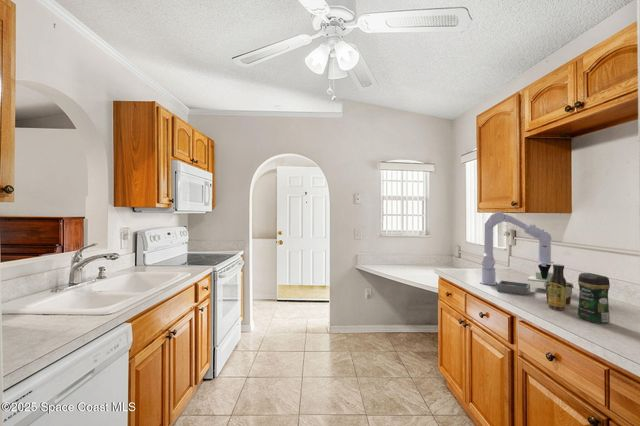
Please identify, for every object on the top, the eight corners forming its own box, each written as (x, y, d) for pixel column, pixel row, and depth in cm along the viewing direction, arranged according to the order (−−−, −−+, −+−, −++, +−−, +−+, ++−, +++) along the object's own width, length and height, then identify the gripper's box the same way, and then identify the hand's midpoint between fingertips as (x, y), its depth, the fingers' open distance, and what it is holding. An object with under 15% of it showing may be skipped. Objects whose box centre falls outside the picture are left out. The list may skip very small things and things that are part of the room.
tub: (501, 287, 186) (501, 280, 186) (530, 291, 178) (530, 283, 178) (497, 291, 177) (497, 284, 177) (527, 295, 168) (527, 287, 168)
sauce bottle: (544, 307, 146) (545, 263, 147) (554, 306, 149) (554, 263, 149) (560, 311, 140) (560, 266, 140) (569, 310, 143) (569, 265, 143)
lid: (529, 277, 191) (529, 269, 191) (561, 280, 182) (561, 272, 182) (527, 280, 181) (527, 272, 181) (561, 284, 171) (561, 275, 171)
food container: (565, 301, 157) (565, 280, 157) (573, 305, 151) (573, 283, 151) (538, 300, 158) (538, 280, 158) (545, 304, 152) (545, 282, 152)
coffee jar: (573, 316, 134) (573, 271, 134) (591, 316, 134) (591, 271, 134) (595, 324, 124) (595, 276, 124) (614, 324, 125) (614, 276, 125)
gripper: (552, 255, 173) (552, 280, 173) (554, 252, 184) (554, 276, 184) (537, 254, 177) (536, 279, 177) (539, 251, 189) (539, 275, 189)
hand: (544, 277), depth 181 cm, fingers closed on lid, 4 cm apart
